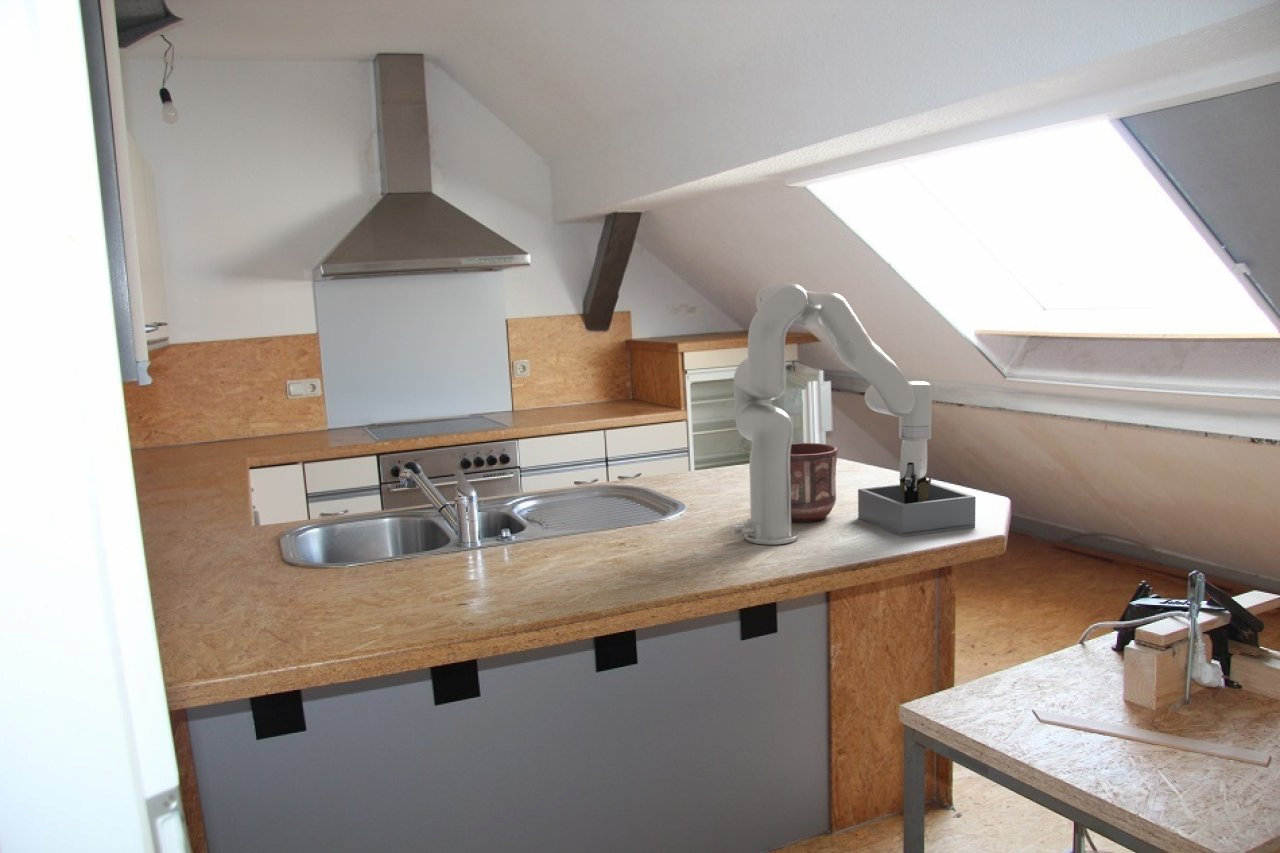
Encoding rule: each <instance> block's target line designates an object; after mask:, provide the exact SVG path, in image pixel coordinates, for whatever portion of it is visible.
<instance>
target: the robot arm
mask: <svg viewBox="0 0 1280 853" xmlns="http://www.w3.org/2000/svg"><path fill="white" fill-rule="evenodd" d="M755 306H756V308H757V309H756V310H757V311H756V312H755V314H754V315H753V317H752V319H751V321H750V325H749V327H748V335H747V358H746V359H744V360H742V361H741V362H740V363H739V364H738V366H737V367H736V370H735V372H734V376H733V400H734V401H733V402H734V406H733V407H734V420H735V426H736V429H737V431H738V432H739V434H740V435H741V437H743V438H745V439H746V440H748V441H749V442H750V441H751V448H750V454H749V455H750V456H749V463H748V464H749V466H748V468H749V502H750V503H749V505H750V518H747V519H746V522H744V523H743V524H735V525H733V524H732V525H731V527H730V528H731V529H730V530H731V533H732V534H740V533H741V535H744V540H746V541H748V542H749V543H753V544H756V545H757V544H758V545H767V546H771V545H775V546H777V545H786V544H790V543H793V542H795V541H797V540H798V539H799V533H798V531H796V530H794V529H792V522H791V473H790V454H791V445H792V443H793V437H794V436H793V435H794V425H793V421H792V419H791V417H790V415H789V414H788V413H787V412H786V411H785V410H783V409H782V408H780V407H778V406H775V405H773V402H772V401H773V400H777V399H778V398H780V397H781V396H782V395H783V394H784V392H785V390H786V387H787V370H786V369H787V367H786V338H787V332H788V330H789V328H790V327H791V325H796V326H803V327H809V328H815V329H819V330H820V331H821V333H822V334H823V335H824V337H825V338H826V340H827V342H828V343H829V344H830V346H831V348H832V349H833V351H834V352H835V354H836V356H837V357H838V358H839V360H840V362H842V363H843V364H844V365H846V366H847V367H848V368H850V369H851V370H852V371H854V372H856V373H857V374H859V375H861V376H862V377H863V378H864V379H866V381H867V382H869V383H870V384H871V385H870V386H868V387H867V389H866V390H865V393H864V401H865V404H866V406H867V407H868V408H869V409H870V410H872V411H874V412H877V413H880V414H883V415H888V416H889V415H890V416H893V417H897V418H898V417H899V418H898V419H899V420H898V421H899V422H898V423H899V424H898V431H899V432H898V439H900V440H901V447H900V460H899V461H900V462H899V478H900V479H904V478H905V477H906V478H905V500H904V504H908V503H916V502H918V491H917V486H918V480H920V479H923V477H925V476H926V474H927V471H928V440H931V439H932V390H933V389H932V385H931V383H930V382H927V381H924V380H923V381H920V380H911V381H909V380H908V379H907V378H906V377H905V375H904V373H903V372H902V371H901V369H900V368H899V366H898V365H896V363H895V362H894V361H893V360H892V359H891V358H890V357H889V356H888V355H887V354H886V353H885V352H884V351H883V350H882V349H881V348H880V347H879V346H878V345H877V344H876V343H875V342H874V341H873V340H872V339H871V337H870V336H869V334H868V332H867V331H866V329H865V328H864V326H863V325H862V323H861V322H860V320H859V318H858V316H857V315H856V313H855V312H854V311H853V309H852V307H851V306H850V304H849V303H848V301H847V300H846V299H845V298H844V297H843V295H841V294H838V293H836V292H816V291H810V290H809V291H807V290H806V289H805V288H803V287H802V286H801V285H799V284H797V283H793V282H789V283H788V282H783V283H770V284H767V285H764V286H763V287H762V288H761V289H760V290H759V292H758V293H757V295H756V298H755ZM913 482H915V484H914V483H913Z"/></svg>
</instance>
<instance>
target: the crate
mask: <svg viewBox="0 0 1280 853" xmlns="http://www.w3.org/2000/svg"><path fill="white" fill-rule="evenodd" d="M857 494H858V495H857V504H858V505H857V509H858V510H857V518H858V519H860V520H861V521H864V522H867V523H868V524H872V525H873V526H876V527H878V528H881V529H883V530H885V531H888V532H891V533H893V534H896V535H898V536H899V537H902V538H903V537H911V536H912V537H913V536H920V535H926V534H934V533H941V532H949V531H955V530H956V531H957V530H965V529H972V528H976V496H974V495H971V494H969V493H965V492H963V491H958V490H955V489H952V488H949V487H945V486H943V485H939V484H937V483H933V482H931V483H930V491H929V497H928V499H927V501H924V502H916V503H908V504H904V500H903V499H902V495H901V488H900V483H899V484H891V485H884V486H875V487H865V488H858V489H857Z"/></svg>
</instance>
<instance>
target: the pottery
mask: <svg viewBox="0 0 1280 853" xmlns="http://www.w3.org/2000/svg"><path fill="white" fill-rule="evenodd" d="M838 451H839V449H838V448H837V447H836V446H834V445H831V444H825V443H817V442H796V443H795V442H792V445H791V454H790V473H791V523H798V524H799V523H803V524H804V523H815V522H819V521H822V520H824V519H825V518H827V516H828V515H830V513H831V512H832V510H833V509H834V506H835V504H836V500H837V485H836V483H837V482H836V476H837V475H836V474H837V463H838V462H837V460H838Z"/></svg>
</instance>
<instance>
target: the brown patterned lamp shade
mask: <svg viewBox="0 0 1280 853" xmlns="http://www.w3.org/2000/svg"><path fill="white" fill-rule="evenodd" d="M905 478H906V477H905ZM905 478H904V479H901V478H900V477H899V484H900V488H901V495H902V499H903V500H905ZM913 483H914V484H915V482H913ZM930 483H932V479H931V477H929V478H928V479H927V477H926V476H924V477H923V479H920V480H918V486H917V491H918V502H924V501H927V499H928V497H929V491H930Z"/></svg>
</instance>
